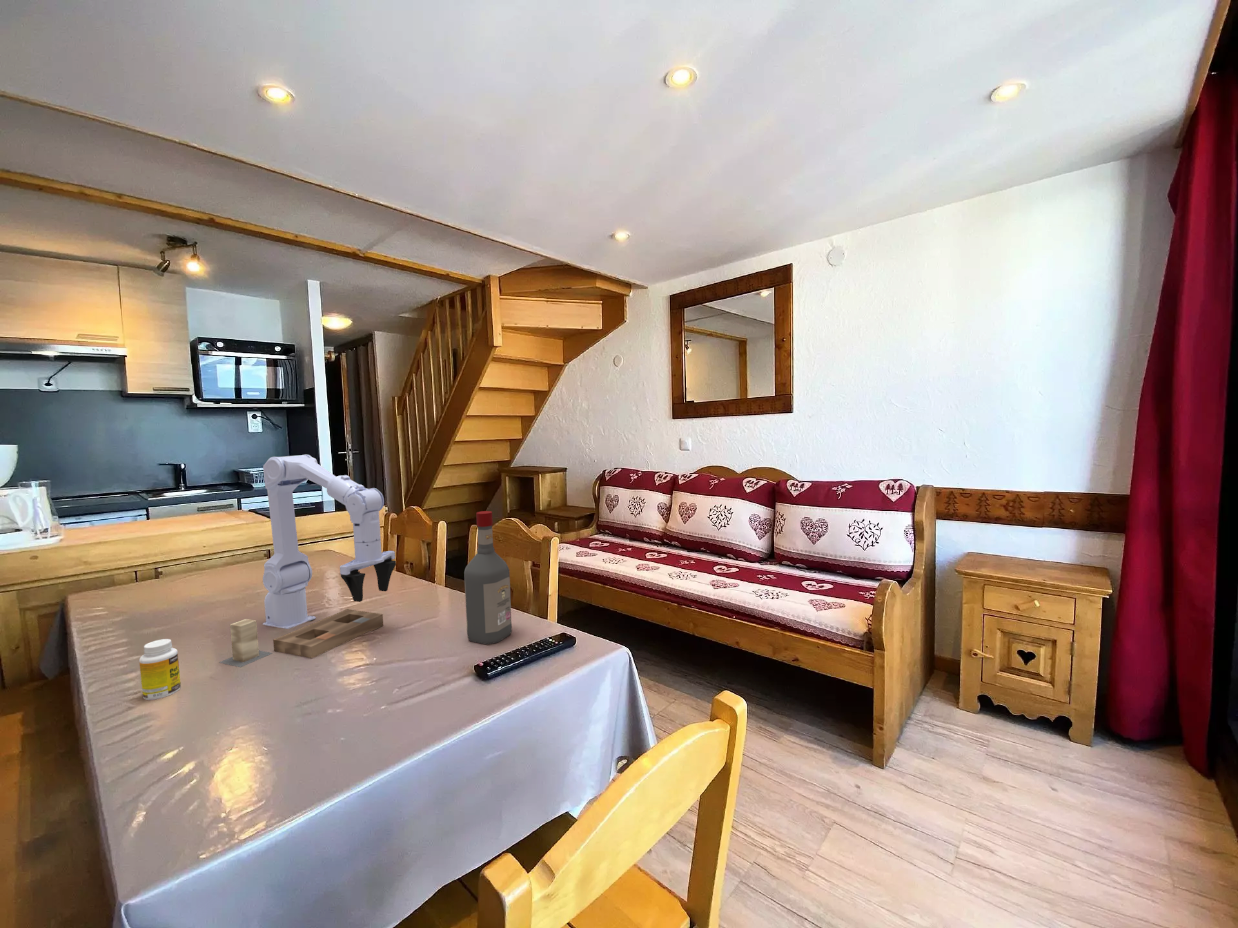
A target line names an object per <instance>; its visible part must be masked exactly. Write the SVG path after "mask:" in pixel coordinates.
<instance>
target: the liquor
mask: <svg viewBox="0 0 1238 928" xmlns="http://www.w3.org/2000/svg"><path fill="white" fill-rule="evenodd" d="M475 513H476V516H475V517H476V526H477V544H478V545H477V549H476V550H477V552H476V554H475V555H474V556H473V558H471V560H470V561H469V562H468V564H467V565H466V566H465V568H464V572H463V574H464V575H463V576H464V595H465V596H464V597H465V598H464V599H465V616H466V634H467V639H468V640H469V642H473V643H478V644H481V645H482V644H483V645H490V644H491V645H492V644H498V643H499V642H501V641H502V640H504V639H506V638H507V637H509V636H510V635H511V634H512V631H513V626H512V605H511V580H510V579H511V578H510V568H509V566H508V564H507V562H506V561H505V560H504V558H502V557H501V556H500V555H499V554H498V553H497V552H496V550H495V548H494V538H493V537H494V536H493V524H494V521H493V511H490V510H484V511H483V510H482V511H477V512H475Z"/></svg>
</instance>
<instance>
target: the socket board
mask: <svg viewBox="0 0 1238 928" xmlns="http://www.w3.org/2000/svg"><path fill="white" fill-rule="evenodd" d="M383 615H384V613H378V612H377V613H376V612H370V611H365V610H356V609H349V608H347V609H344V610H342V611H340V612H337V613H334V614H332V615H329V616H327V617H324V618H322V619H320V620H317V621H315V622H312V623H310V624H308V625H305V626H302V627H300V628H297V629H296V630H293V631H290V632H288V633H286V634H283V635H281V636H278V637H275V638H274V639H272V641H273V642H272V644H273V651H274V652H278V653H284V654H289V655H294V656H298V657H303V658H307V659H308V658H309V659H315V658H316V657H319V656H320V655H322V654H325V653H327V652H329V651H330V650H333V649H335V648H337V647H339V646H342V645H343V644H346V643H347V642H349V641H351V640H352V641H353V639H356V638H357V637H360V636H362V635H364V634H365V633H368V632H373V631H375V630H377V629H379V628H382V627H383V626H384V616H383Z"/></svg>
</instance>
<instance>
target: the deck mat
mask: <svg viewBox="0 0 1238 928" xmlns="http://www.w3.org/2000/svg"><path fill="white" fill-rule="evenodd" d="M272 654H273V652H269V651H264V650H260V649H259V656H257V657H254V658H252V659H250V660H247V661H245V662H240V661H236V660H233V656H231V657H229V658H225V659H224V660H222V661H219V662H218V663H219V664H224V665H228V666H233V667H238V668H242V667H245V666H247V665H249V664H251V663H254V662H257V661H258V660H261V659H263V658H265V657H268V656H270V655H272Z"/></svg>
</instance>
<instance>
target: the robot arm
mask: <svg viewBox="0 0 1238 928" xmlns="http://www.w3.org/2000/svg"><path fill="white" fill-rule="evenodd" d="M262 468H263V478H264V486H265V487H264V488H265V489H266V490H267V491H266V492H267V499H268V508H269V509H268V510H269V516H270V517H269V518H270V525H271V536H272V545H273V555H271V556H270V558H269V559H267V561H265V563H264V564H263V567H264V570H263V575H262V583H263V586H264V588H265V589H266V590H267V591H268V592H266V593H267V594H266V595H265V597H264V601H263V602H264V614H265V622H262V625H263V626H266V627H267V626H268V627H273V628H274V627H275V628H279V629H286V630H289V629H292V628H294V627H297V626H300V625H301V624H302V625H303V624H304V623H306V622H311V621H313V620H315V619H316V618H317V617H316V616H314V615H308V607H307V606H308V605H307V592H306V591H307V590H306V587H308V586H309V584H308V583H309V582H311V579H312V577H313V568H312V567H311V564H310V561H309V556H308V555H307V554H305V553H303V552H301V551H300V549H299V544H298V543H299V541H298V533H297V532H298V531H297V522H296V514H295V512H296V511H295V506H294V505H295V504H294V496H293V492H294V491H295V490H296V489H297V487H298V486H300V485H302V484H304V483H305V482H306V481H308V480H309V481H311V482H313V483H315V484H317V485H319V486H321V487H322V488H325V489H326V493H327V495H328V496H329V497H330V498H332V499H334V500H336V501H338V502H339V503H341V505H344V506H345V510H346V512H347V513H348V515H349V518H350V519H349V520H350V522H351V524H352V531H353V542H354V543H353V545H354V547H353V548H354V559H352V560H351V561H348V562H347V563H345V564H344V563H343V564H342V565H339V573H340V574H339V575H340V577H341V579H342V580H343V582H344V583H345V585H346V586H347V587H348V590H349V592H350V594H351V597H352V600H353V602H357V603H361V602H362V601H363V600H364V599H363V598H364V591H363V590H364V589H363V587H364V581H365V577H366V573H363V572H361V571H360V570H362V569H365V568H369V567H372V566H373V567H374V570H375V574H376V578H377V579H376V580H377V586H378V587H377V588H378V591H380V592H388V590H389V589H388V588H389V584H390V580H391V577H392V574H393V571H394V569H395V568H396V565H397V562H396V560H395V559H396V552H395V551H394V550H388V551H383V552H382V542H381V541H382V540H381V524H380V512H381V510H382V509H383V508H384V505H385V498H384V495H383V493H382V492H381V491H380V490H379V489H377V488H375V487H372V488H366V487H365V486H364V485H362V484H359V483H357V482H356V481H354V480H352V479H351V477H350V476H348V475H347V474H344V475H338V476H336V475H335V474H333V473H331V472H330V471H329V470H328V469H326V468H325V467H323V466H321V465H320V463H319V464H318V461H317V459H316V458H315V457H312V456H311V455H310V454H306V453H305V454H302V455H287V456H285V455H284V456H271V457H269V458H268V459H267V461H266V462H265V463H264V464H263V465H262Z"/></svg>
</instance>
